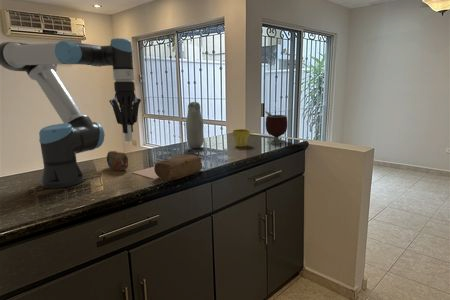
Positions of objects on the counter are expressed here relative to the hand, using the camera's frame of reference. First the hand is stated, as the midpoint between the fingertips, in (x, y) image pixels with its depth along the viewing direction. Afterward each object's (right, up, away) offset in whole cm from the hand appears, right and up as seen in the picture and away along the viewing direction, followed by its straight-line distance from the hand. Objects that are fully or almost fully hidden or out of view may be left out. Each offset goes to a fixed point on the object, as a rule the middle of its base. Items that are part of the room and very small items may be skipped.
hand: (128, 140), depth 122 cm
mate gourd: (+72, +1, +76) cm, 104 cm away
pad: (+11, -13, +14) cm, 22 cm away
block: (+14, -12, -1) cm, 18 cm away
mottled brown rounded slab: (-11, -13, +19) cm, 26 cm away
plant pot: (+49, -1, +67) cm, 83 cm away
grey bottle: (+21, -3, +63) cm, 67 cm away
